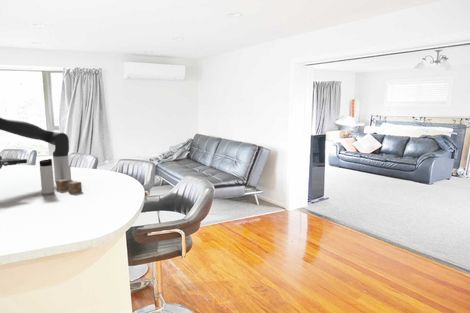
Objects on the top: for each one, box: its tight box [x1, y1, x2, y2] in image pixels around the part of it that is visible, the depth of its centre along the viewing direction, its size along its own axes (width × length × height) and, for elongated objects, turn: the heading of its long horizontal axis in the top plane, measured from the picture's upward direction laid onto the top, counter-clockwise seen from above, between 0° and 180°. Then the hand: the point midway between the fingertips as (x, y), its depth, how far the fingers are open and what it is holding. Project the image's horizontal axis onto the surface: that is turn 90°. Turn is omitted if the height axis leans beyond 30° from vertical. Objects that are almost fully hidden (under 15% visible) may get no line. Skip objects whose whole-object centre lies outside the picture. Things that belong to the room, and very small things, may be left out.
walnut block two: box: [55, 179, 70, 192], centre depth 196 cm, size 5×5×6 cm
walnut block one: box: [68, 181, 83, 195], centre depth 190 cm, size 5×5×6 cm
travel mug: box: [39, 158, 55, 196], centre depth 186 cm, size 6×7×20 cm
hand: (26, 161), depth 182 cm, fingers closed
